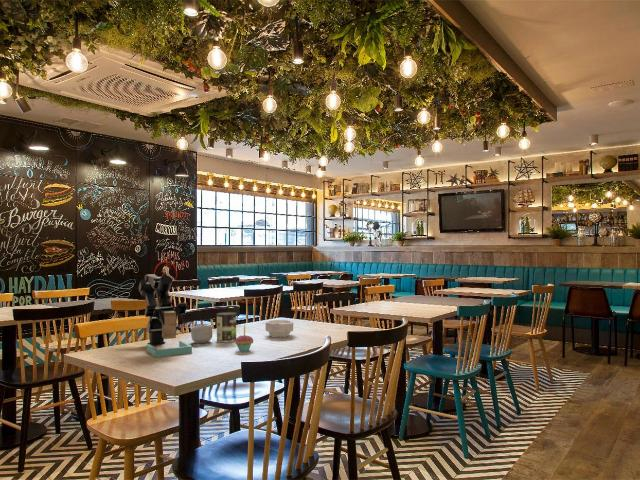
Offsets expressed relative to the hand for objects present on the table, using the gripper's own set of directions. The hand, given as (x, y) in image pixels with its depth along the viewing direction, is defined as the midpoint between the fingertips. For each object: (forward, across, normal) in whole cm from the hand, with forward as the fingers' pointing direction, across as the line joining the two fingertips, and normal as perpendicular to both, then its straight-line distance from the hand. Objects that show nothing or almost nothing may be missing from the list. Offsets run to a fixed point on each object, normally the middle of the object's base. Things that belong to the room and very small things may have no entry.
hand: (169, 323), depth 220 cm
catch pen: (+8, 0, -10) cm, 13 cm away
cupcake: (+21, -30, +2) cm, 37 cm away
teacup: (-1, -21, -20) cm, 30 cm away
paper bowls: (+5, -61, -14) cm, 63 cm away
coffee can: (+1, -33, -18) cm, 37 cm away
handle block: (+4, 0, -6) cm, 7 cm away
